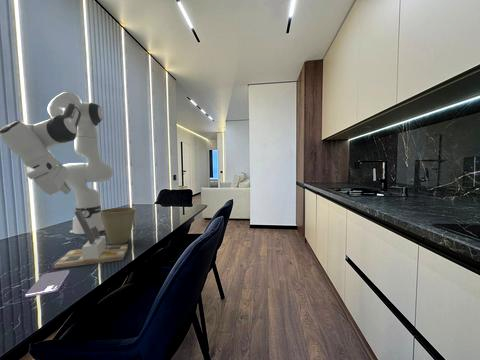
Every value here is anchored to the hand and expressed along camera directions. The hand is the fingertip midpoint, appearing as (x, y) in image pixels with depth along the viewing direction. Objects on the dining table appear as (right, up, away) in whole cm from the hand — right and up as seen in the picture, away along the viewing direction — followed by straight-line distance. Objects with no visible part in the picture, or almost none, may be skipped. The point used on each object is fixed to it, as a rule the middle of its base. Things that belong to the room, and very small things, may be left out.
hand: (68, 192), depth 93 cm
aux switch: (+10, -18, +3) cm, 21 cm away
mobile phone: (+10, -28, -21) cm, 37 cm away
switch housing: (+12, -25, -1) cm, 27 cm away
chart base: (+12, -26, -1) cm, 29 cm away
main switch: (+13, -19, -4) cm, 23 cm away
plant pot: (+12, -25, +17) cm, 33 cm away
